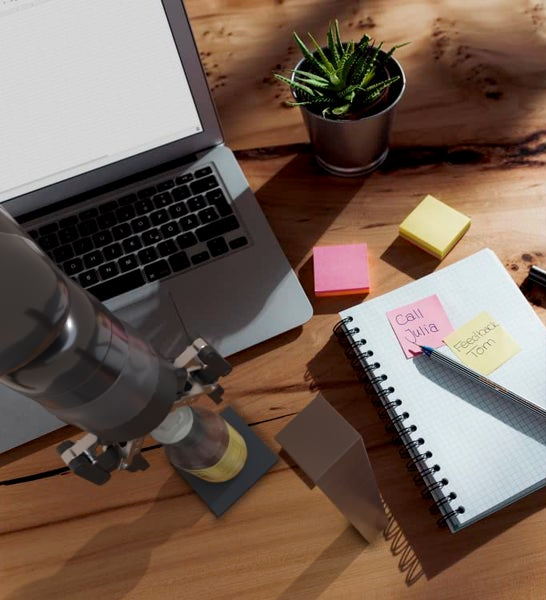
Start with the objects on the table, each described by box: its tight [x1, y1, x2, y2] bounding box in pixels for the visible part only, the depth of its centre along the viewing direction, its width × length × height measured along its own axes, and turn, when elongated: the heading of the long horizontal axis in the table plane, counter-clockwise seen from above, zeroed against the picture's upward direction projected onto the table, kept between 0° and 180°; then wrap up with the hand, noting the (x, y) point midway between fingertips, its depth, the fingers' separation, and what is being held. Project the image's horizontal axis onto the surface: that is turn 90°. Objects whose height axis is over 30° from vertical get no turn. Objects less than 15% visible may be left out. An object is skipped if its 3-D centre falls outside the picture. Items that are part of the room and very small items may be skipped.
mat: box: [171, 405, 280, 518], centre depth 76 cm, size 9×9×1 cm
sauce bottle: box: [149, 404, 248, 482], centre depth 67 cm, size 6×6×20 cm
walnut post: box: [273, 393, 390, 544], centre depth 52 cm, size 3×3×46 cm
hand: (178, 427), depth 61 cm, fingers open, 8 cm apart
